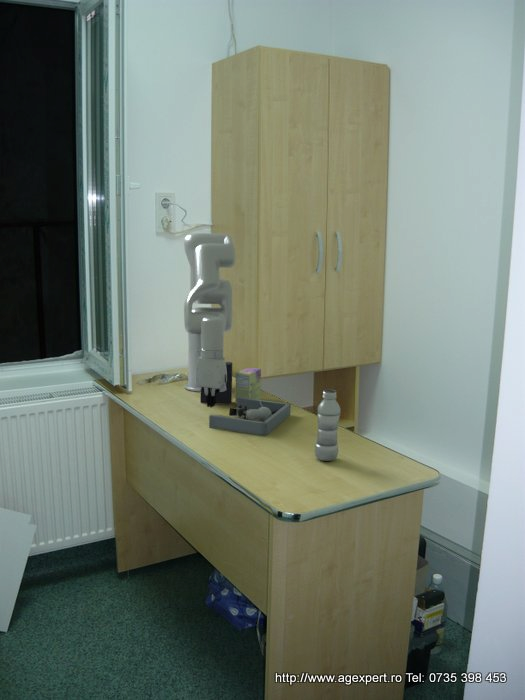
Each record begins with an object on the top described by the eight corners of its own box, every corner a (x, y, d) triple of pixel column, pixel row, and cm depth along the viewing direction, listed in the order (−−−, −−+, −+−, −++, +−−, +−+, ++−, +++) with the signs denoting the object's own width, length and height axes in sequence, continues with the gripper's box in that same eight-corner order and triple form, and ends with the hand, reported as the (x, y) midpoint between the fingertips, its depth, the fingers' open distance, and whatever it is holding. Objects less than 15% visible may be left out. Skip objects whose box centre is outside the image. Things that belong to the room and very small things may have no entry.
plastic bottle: (310, 457, 193) (313, 389, 189) (331, 454, 196) (334, 387, 192) (320, 465, 187) (324, 395, 183) (342, 462, 190) (346, 393, 186)
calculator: (231, 401, 247) (232, 361, 244) (230, 405, 242) (231, 364, 239) (202, 400, 248) (202, 360, 245) (200, 403, 243) (200, 362, 240)
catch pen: (238, 408, 239) (238, 397, 238) (290, 415, 232) (290, 403, 232) (209, 427, 217) (209, 415, 216) (265, 436, 210) (265, 423, 209)
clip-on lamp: (258, 419, 237) (225, 419, 223) (260, 401, 238) (227, 399, 223) (286, 423, 230) (254, 423, 216) (287, 404, 230) (255, 403, 216)
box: (246, 397, 253) (247, 366, 251) (260, 399, 251) (261, 368, 248) (234, 404, 244) (235, 372, 241) (248, 406, 241) (249, 374, 239)
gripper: (186, 353, 225) (186, 406, 229) (228, 358, 219) (226, 412, 224) (196, 348, 231) (196, 400, 236) (237, 353, 226) (235, 406, 231)
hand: (211, 405), depth 230 cm, fingers closed
